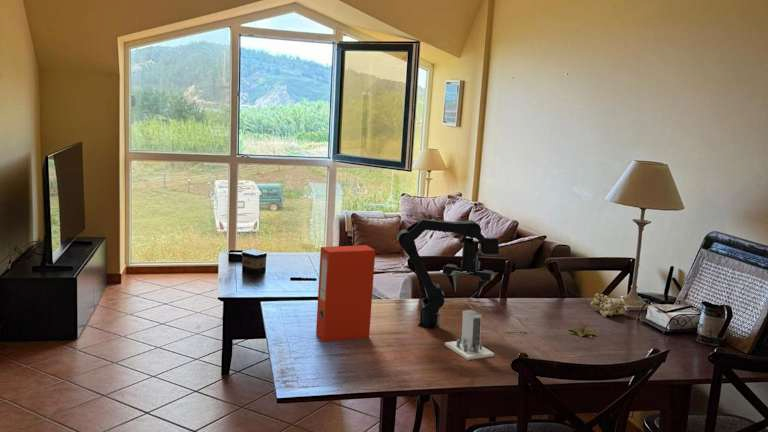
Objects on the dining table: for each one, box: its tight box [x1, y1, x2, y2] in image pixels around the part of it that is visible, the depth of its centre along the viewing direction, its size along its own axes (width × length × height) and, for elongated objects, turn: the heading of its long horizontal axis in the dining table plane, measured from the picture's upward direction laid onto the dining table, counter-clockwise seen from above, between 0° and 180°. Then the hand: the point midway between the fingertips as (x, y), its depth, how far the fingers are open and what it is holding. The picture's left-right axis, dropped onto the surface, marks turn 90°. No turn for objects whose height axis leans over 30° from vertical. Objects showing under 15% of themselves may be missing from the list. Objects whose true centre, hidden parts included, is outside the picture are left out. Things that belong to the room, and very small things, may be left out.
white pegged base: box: [444, 335, 495, 361], centre depth 231 cm, size 14×11×4 cm
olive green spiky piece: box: [568, 321, 599, 339], centre depth 258 cm, size 12×12×5 cm
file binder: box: [315, 244, 376, 343], centre depth 234 cm, size 8×17×32 cm, turn 116°
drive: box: [461, 309, 482, 351], centre depth 230 cm, size 6×4×12 cm, turn 28°
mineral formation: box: [590, 293, 629, 318], centre depth 286 cm, size 8×13×15 cm
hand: (466, 294), depth 253 cm, fingers open, 9 cm apart
